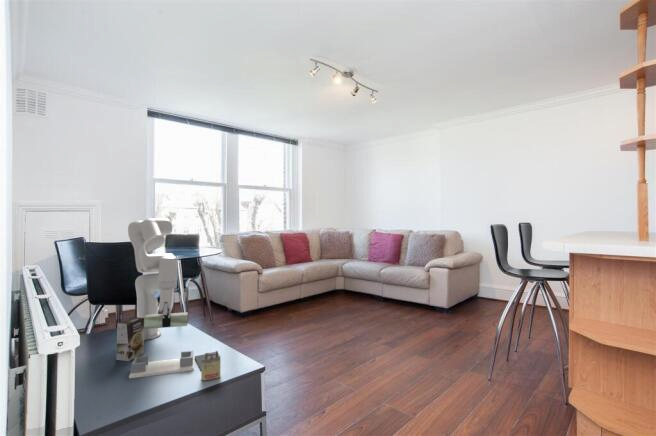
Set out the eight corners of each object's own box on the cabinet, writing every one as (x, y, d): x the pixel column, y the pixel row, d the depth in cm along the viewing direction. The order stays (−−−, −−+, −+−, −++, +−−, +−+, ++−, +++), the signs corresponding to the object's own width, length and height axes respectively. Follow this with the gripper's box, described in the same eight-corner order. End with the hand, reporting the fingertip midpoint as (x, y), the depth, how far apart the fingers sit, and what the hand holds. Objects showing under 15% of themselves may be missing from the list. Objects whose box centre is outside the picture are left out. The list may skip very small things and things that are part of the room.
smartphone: (200, 370, 137) (194, 356, 150) (200, 372, 137) (193, 358, 150) (218, 366, 140) (210, 353, 153) (218, 368, 140) (210, 355, 153)
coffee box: (128, 361, 145) (129, 323, 144) (116, 360, 146) (116, 322, 146) (144, 353, 154) (144, 317, 153) (132, 351, 155) (132, 316, 155)
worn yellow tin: (201, 382, 128) (202, 356, 128) (200, 377, 132) (200, 352, 131) (221, 378, 132) (221, 352, 132) (219, 374, 135) (219, 349, 135)
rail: (145, 326, 150) (146, 314, 150) (187, 323, 156) (187, 312, 156) (144, 329, 147) (144, 317, 147) (187, 325, 153) (187, 314, 152)
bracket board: (134, 366, 141) (134, 355, 140) (194, 358, 148) (194, 348, 148) (129, 378, 130) (129, 366, 130) (193, 370, 138) (193, 359, 138)
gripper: (160, 280, 157) (159, 319, 158) (155, 289, 141) (154, 332, 142) (178, 279, 160) (177, 318, 160) (175, 288, 144) (174, 331, 145)
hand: (166, 324), depth 151 cm, fingers closed on rail, 3 cm apart
